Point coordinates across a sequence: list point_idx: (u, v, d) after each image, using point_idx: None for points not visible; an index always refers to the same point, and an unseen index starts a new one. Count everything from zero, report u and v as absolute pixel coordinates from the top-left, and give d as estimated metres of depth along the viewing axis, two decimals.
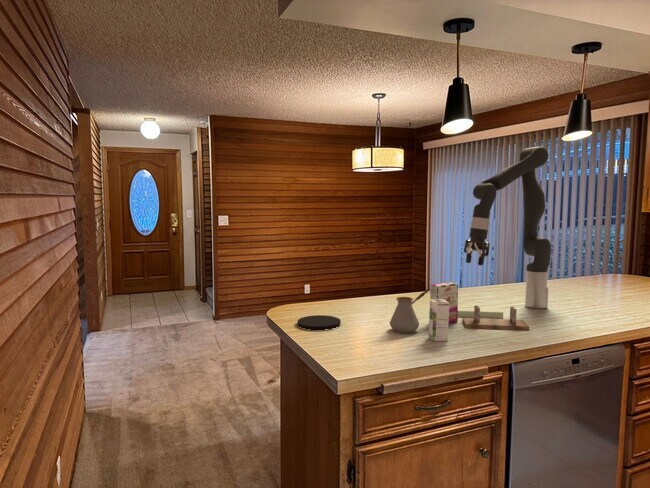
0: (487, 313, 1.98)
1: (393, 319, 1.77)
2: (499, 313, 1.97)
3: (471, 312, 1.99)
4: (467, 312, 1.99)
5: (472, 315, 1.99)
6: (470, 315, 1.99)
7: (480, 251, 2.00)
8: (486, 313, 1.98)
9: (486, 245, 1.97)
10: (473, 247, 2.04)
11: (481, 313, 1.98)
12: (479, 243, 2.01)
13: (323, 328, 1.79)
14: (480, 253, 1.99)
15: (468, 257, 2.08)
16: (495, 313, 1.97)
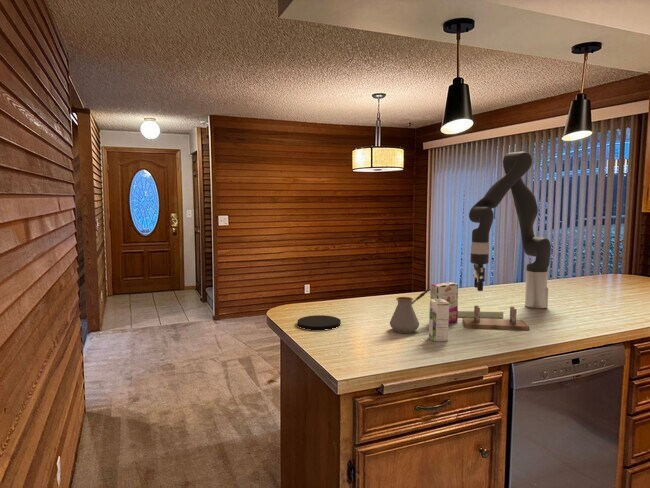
0: (487, 313, 1.98)
1: (393, 319, 1.77)
2: (499, 313, 1.97)
3: (471, 312, 1.99)
4: (467, 312, 1.99)
5: (472, 315, 1.99)
6: (470, 315, 1.99)
7: (478, 277, 1.96)
8: (486, 313, 1.98)
9: (481, 271, 1.93)
10: None
11: (481, 313, 1.98)
12: (477, 268, 1.97)
13: (323, 328, 1.79)
14: (477, 279, 1.95)
15: (475, 282, 2.04)
16: (495, 313, 1.98)
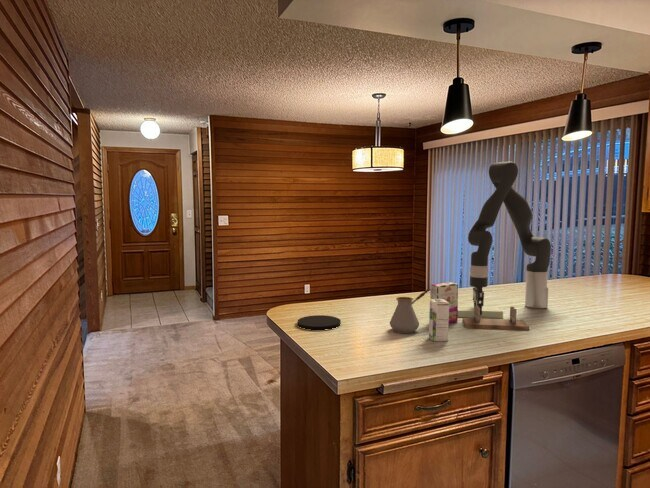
0: (487, 312, 1.98)
1: (393, 319, 1.77)
2: (499, 312, 1.97)
3: (471, 311, 1.99)
4: (467, 312, 1.99)
5: (472, 314, 1.99)
6: (470, 315, 1.99)
7: (477, 301, 1.97)
8: (486, 312, 1.98)
9: (480, 296, 1.94)
10: (475, 294, 2.01)
11: None
12: (476, 291, 1.98)
13: (323, 328, 1.79)
14: (476, 303, 1.97)
15: (475, 305, 2.04)
16: (495, 312, 1.97)
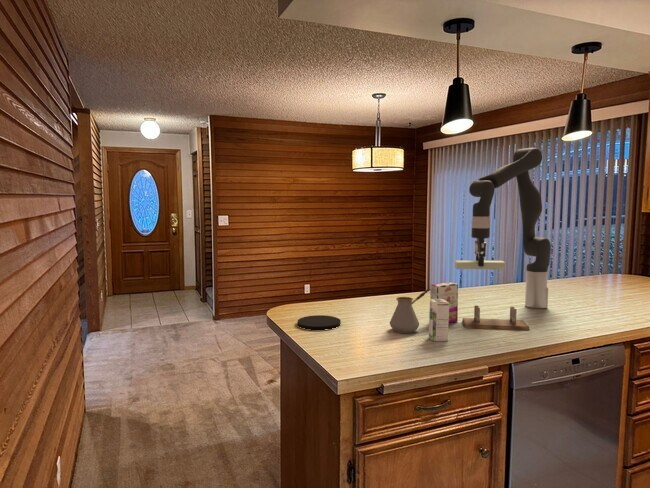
0: (489, 264, 1.95)
1: (393, 319, 1.77)
2: (501, 263, 1.95)
3: (473, 263, 1.96)
4: (469, 263, 1.97)
5: (474, 266, 1.96)
6: (472, 266, 1.96)
7: (479, 252, 1.95)
8: (488, 264, 1.95)
9: (481, 246, 1.92)
10: (477, 246, 1.99)
11: None
12: (478, 243, 1.95)
13: (323, 328, 1.79)
14: (478, 254, 1.95)
15: (477, 258, 2.02)
16: (497, 263, 1.95)
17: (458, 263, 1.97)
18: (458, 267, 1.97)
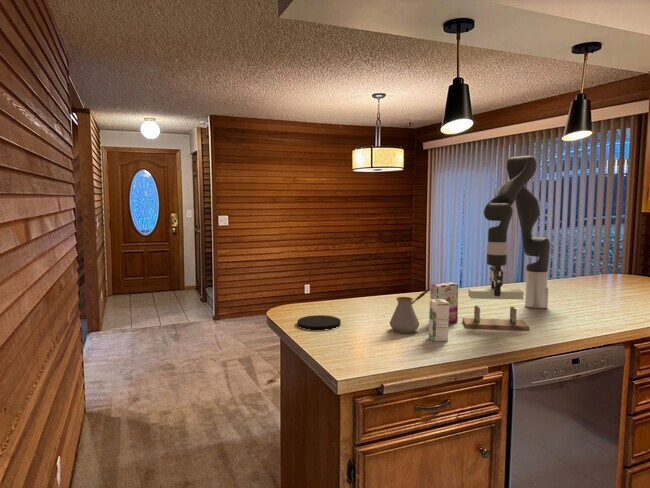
0: (506, 293, 1.80)
1: (393, 319, 1.77)
2: (519, 293, 1.80)
3: (488, 292, 1.81)
4: (484, 292, 1.82)
5: (489, 296, 1.81)
6: (487, 296, 1.82)
7: (495, 280, 1.80)
8: (505, 293, 1.81)
9: (498, 275, 1.77)
10: None
11: None
12: (495, 270, 1.80)
13: (323, 328, 1.79)
14: (494, 283, 1.80)
15: (492, 286, 1.87)
16: (515, 293, 1.80)
17: (472, 292, 1.82)
18: (472, 296, 1.82)
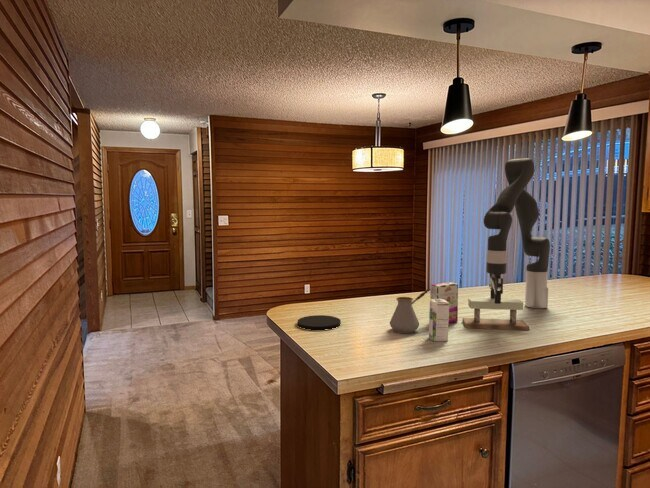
0: (506, 303, 1.81)
1: (393, 319, 1.77)
2: (519, 303, 1.80)
3: (488, 302, 1.82)
4: (484, 302, 1.82)
5: (489, 306, 1.82)
6: (487, 306, 1.82)
7: (495, 288, 1.80)
8: (504, 303, 1.81)
9: (498, 282, 1.77)
10: None
11: None
12: (494, 279, 1.81)
13: (323, 328, 1.79)
14: (495, 290, 1.79)
15: (492, 293, 1.88)
16: (514, 303, 1.80)
17: (472, 302, 1.83)
18: (472, 306, 1.83)
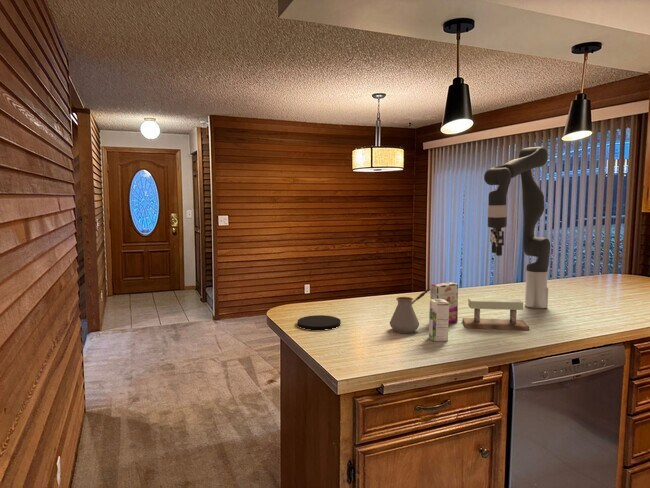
0: (506, 303, 1.81)
1: (393, 319, 1.77)
2: (519, 303, 1.80)
3: (488, 302, 1.82)
4: (484, 302, 1.82)
5: (489, 306, 1.82)
6: (487, 306, 1.82)
7: (496, 241, 1.89)
8: (504, 303, 1.81)
9: (499, 234, 1.86)
10: (493, 236, 1.93)
11: (499, 303, 1.81)
12: (495, 232, 1.89)
13: (323, 328, 1.79)
14: (496, 243, 1.88)
15: (493, 247, 1.97)
16: (514, 303, 1.80)
17: (472, 302, 1.83)
18: (472, 306, 1.83)
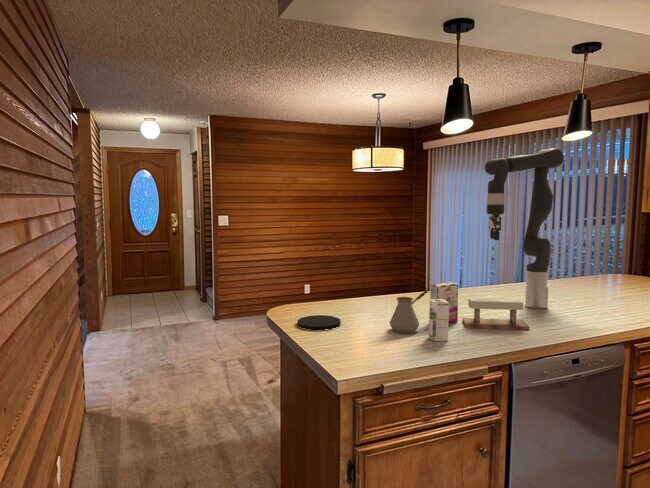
0: (506, 303, 1.81)
1: (393, 319, 1.77)
2: (519, 303, 1.80)
3: (488, 302, 1.82)
4: (484, 302, 1.82)
5: (489, 306, 1.82)
6: (487, 306, 1.82)
7: (494, 226, 2.02)
8: (504, 303, 1.81)
9: (497, 220, 1.99)
10: None
11: (499, 303, 1.81)
12: (493, 218, 2.03)
13: (323, 328, 1.79)
14: (494, 228, 2.02)
15: (491, 233, 2.11)
16: (514, 303, 1.80)
17: (472, 302, 1.83)
18: (472, 306, 1.83)
